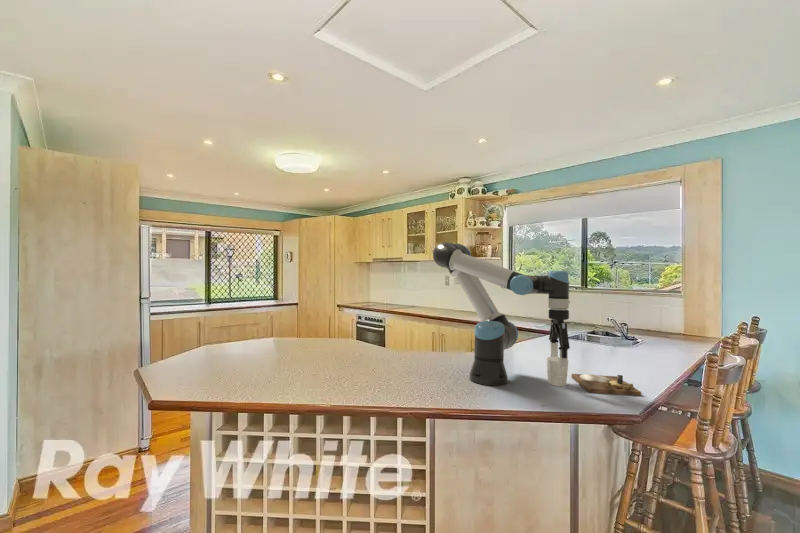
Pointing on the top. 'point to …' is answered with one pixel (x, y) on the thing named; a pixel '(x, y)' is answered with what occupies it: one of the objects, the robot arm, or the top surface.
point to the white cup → (556, 372)
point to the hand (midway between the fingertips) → (558, 362)
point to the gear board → (605, 384)
